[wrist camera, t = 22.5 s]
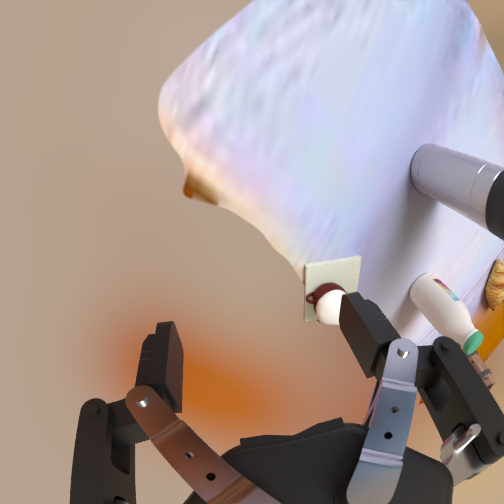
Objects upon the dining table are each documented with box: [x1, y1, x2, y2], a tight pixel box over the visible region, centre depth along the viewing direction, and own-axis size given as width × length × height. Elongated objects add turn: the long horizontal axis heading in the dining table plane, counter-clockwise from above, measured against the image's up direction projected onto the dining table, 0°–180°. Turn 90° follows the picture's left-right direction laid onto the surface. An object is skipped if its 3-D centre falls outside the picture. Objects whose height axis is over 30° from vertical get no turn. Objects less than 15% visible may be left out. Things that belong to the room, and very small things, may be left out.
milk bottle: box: [410, 273, 483, 355], centre depth 44 cm, size 8×8×20 cm
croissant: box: [485, 259, 504, 311], centre depth 57 cm, size 21×10×8 cm, turn 29°
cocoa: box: [305, 282, 347, 325], centre depth 43 cm, size 10×6×12 cm, turn 54°
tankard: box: [457, 342, 495, 390], centre depth 63 cm, size 24×17×20 cm
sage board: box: [304, 255, 361, 322], centre depth 48 cm, size 10×12×1 cm
